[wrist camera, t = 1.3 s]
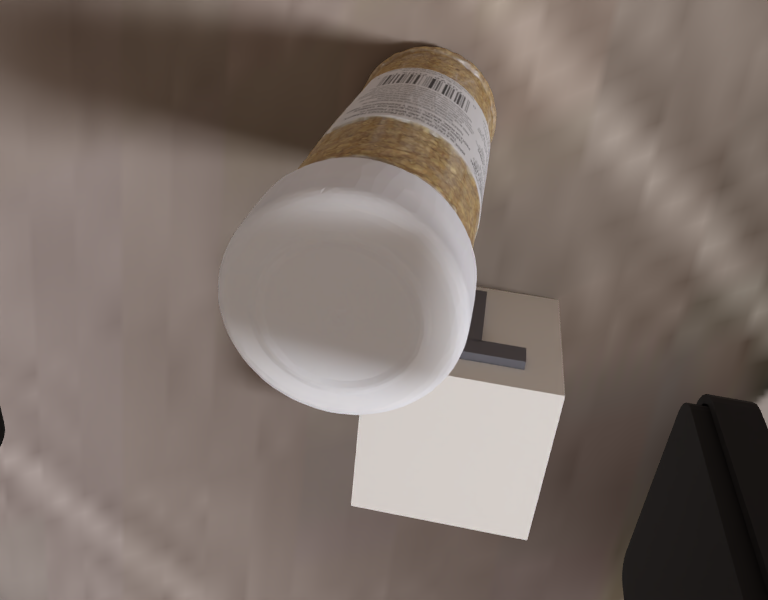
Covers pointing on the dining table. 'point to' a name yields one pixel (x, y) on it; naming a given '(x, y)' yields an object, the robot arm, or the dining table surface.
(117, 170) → the dining table surface
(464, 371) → the lettered cube
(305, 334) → the sprinkles bottle
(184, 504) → the dining table surface
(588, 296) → the dining table surface
